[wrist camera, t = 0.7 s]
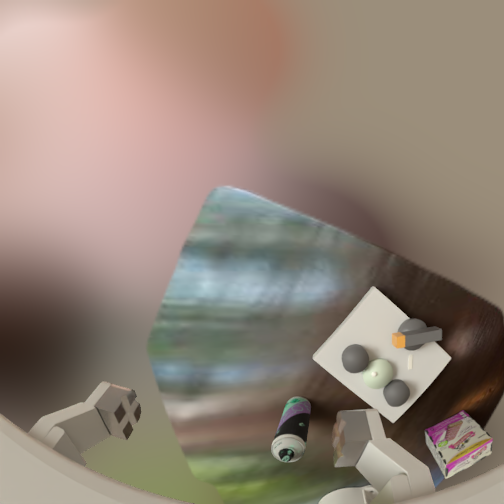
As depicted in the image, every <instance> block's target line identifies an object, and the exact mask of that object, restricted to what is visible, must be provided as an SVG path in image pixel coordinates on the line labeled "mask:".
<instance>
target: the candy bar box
mask: <svg viewBox="0 0 504 504" xmlns="http://www.w3.org/2000/svg"><path fill="white" fill-rule="evenodd" d="M425 434H426V444H427V446H428V447H429V449H430V451H431V453H432V454H433V456H434V458H435V460H436V462H437V464H438V465H439V467H440V469H441V471H442V473H443V475H444V477H445V478H446V479H447V478H449V477H451V476H453V475H455V474H457V473H459V472H461V471H462V470H464V469H466V468H468V467H470V466H471V465H473V464H475V463H476V462H478V461H480V460H482V459H483V458H485V457H486V456H488V455H490V454H491V453H492V441H493V439H492V437H491V436H490V435H489V434H488V433H487V432H486V431H485V430H484V429H483V428H482V427H481V426H480V425H479V424H478V423H477V422H476V421H475V420H474V419H473V418H472V417H471V416H470V415H469V414H468V413H467V412H465V411H464V410H462V411H461V412H459V413H457V414H455V415H454V416H452V417H450V418H448V419H446V420H444V421H442V422H440V423H438V424H436V425H434V426H432V427H430V428H428V429H426V430H425Z"/></svg>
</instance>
